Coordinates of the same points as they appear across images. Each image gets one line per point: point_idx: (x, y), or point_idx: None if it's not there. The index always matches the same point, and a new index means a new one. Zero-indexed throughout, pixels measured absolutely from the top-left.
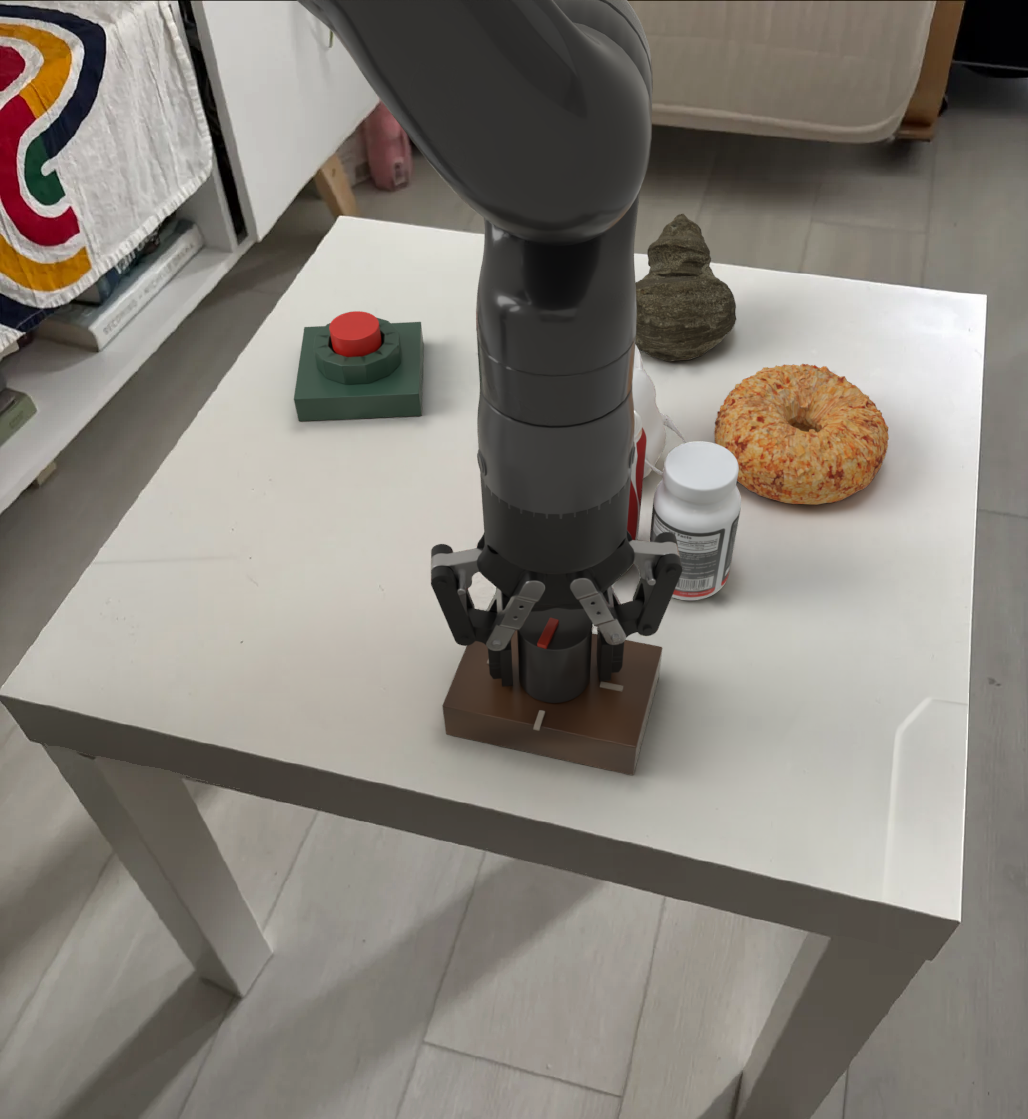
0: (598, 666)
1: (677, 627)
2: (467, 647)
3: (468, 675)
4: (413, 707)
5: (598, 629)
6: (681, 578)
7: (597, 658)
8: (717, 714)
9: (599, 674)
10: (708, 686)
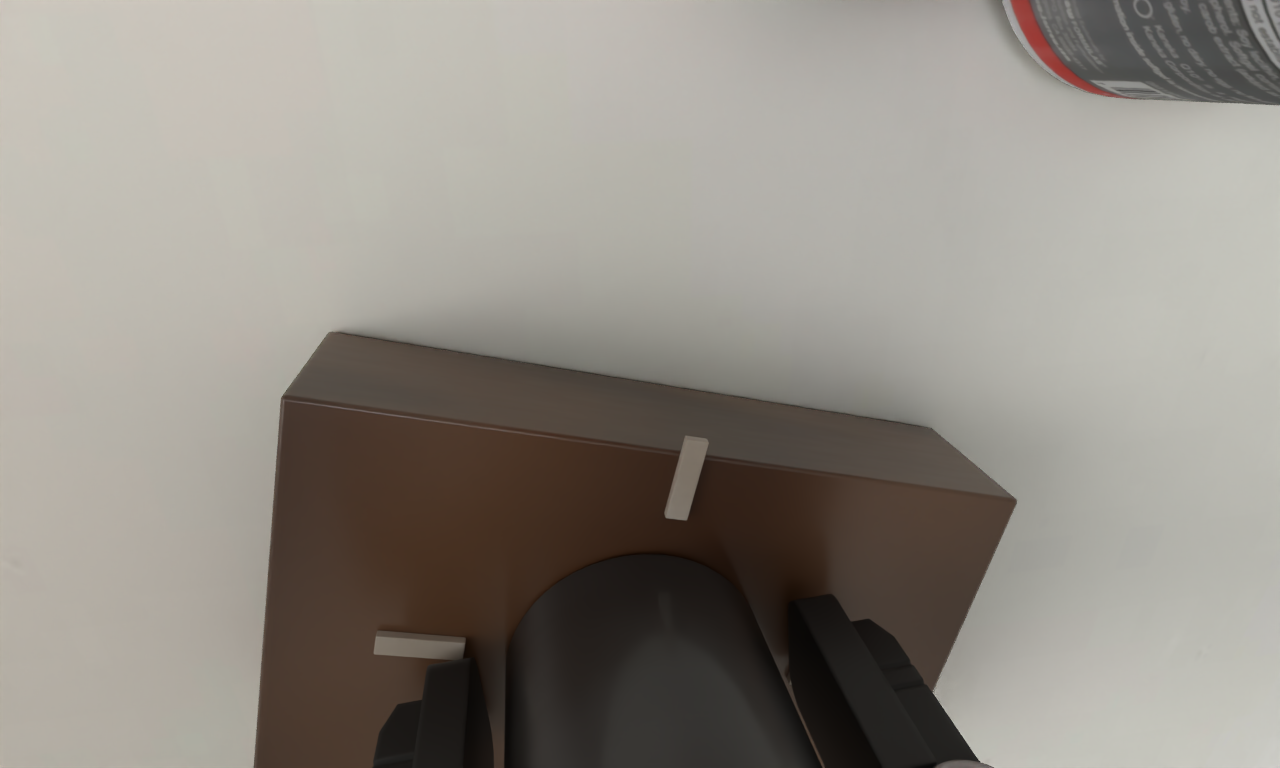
0: (802, 679)
1: (1031, 217)
2: (273, 584)
3: (313, 697)
4: (154, 617)
5: (863, 755)
6: (1168, 95)
7: (800, 643)
8: (1058, 532)
9: (803, 709)
10: (1062, 446)
